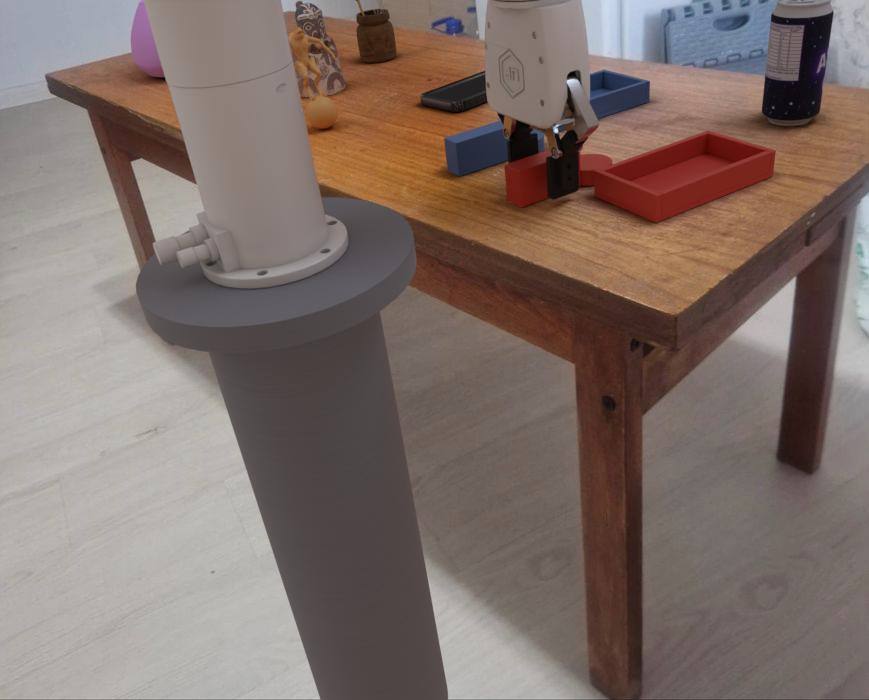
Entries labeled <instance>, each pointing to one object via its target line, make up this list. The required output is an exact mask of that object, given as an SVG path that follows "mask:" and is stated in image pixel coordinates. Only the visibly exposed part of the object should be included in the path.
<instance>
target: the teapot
mask: <svg viewBox="0 0 869 700" xmlns="http://www.w3.org/2000/svg"><path fill="white" fill-rule="evenodd" d="M130 50H131V56H132V60H133V62H134V64H135V65H136V67H138V68H139V69H140V70H142V72H144V73H146V74H147V75H148V76H150V77H154V78H165V75H164V72H163V69H162V65H161V62H160V58H159V55H158V51H157V48H156V44H155V41H154V37H153V33H152V30H151V26H150V22H149V19H148V15H147V11H146V8H145V4H144V0H140V1H139V2H138V4H137V6H136V9H135V13H134V18H133V21H132V25H131V31H130Z"/></svg>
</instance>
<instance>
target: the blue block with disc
mask: <svg viewBox="0 0 869 700" xmlns="http://www.w3.org/2000/svg"><path fill="white" fill-rule="evenodd" d="M531 133H537V134H538V151H539V153H541V152H544V150H545V134H544V132H542V130H541V131H540V130H538V129H533V131H532V132H531ZM443 141H444V149H445V159H446V169H447V171H448V172H450V173H451V174H453V175H455V176H457V177H459V178H460V177H464V176H465V175H469V174H471V173H475V172H477V171H481V170H483V169H486V168H490V167H492V166H493V167H494V166H495V165H498V164H502V163H504V162H508V149H507V141H510V139H509V140H506V139H505V138H504V136H503V123H502V122H501V120H497V121H494V122H490V123H488V124H484V125H482V126H478V127H474V128H472V129H468V130H465V131H462V132H458V133H455V134H452V135H449V136H445V137H443Z"/></svg>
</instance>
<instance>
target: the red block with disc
mask: <svg viewBox="0 0 869 700" xmlns="http://www.w3.org/2000/svg"><path fill="white" fill-rule="evenodd" d="M549 156H551V153H550V149H548V150H547V149H546V150H545V151H543V152H541V153H538V154H535V155H532V156H529V157H526V158H523V159H520V160H517V161H514V162H511V163H508V162H507V163H506V164H504V166H503V167H504V168H503V169H504V181H505V193H506V201H507V202H509V203H511V204H513V205H515V206H517V207H519V208H524V207H527V206H530V205H533V204H536V203H538V202H541V201H544V200H547V199H550V198H549V197H548V192H547V170H546V157H549ZM578 163H579V188H580V187H581V186H582V187H584V186H585V187H590V186H592V187H593V186H594V171H595V170H598V169H601V168H604V167H607V166H609V165H612V164H613V159H612V158H611V157H610V156H608V155H606V154H600V153H584V154H581V151H579V152H578Z"/></svg>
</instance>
